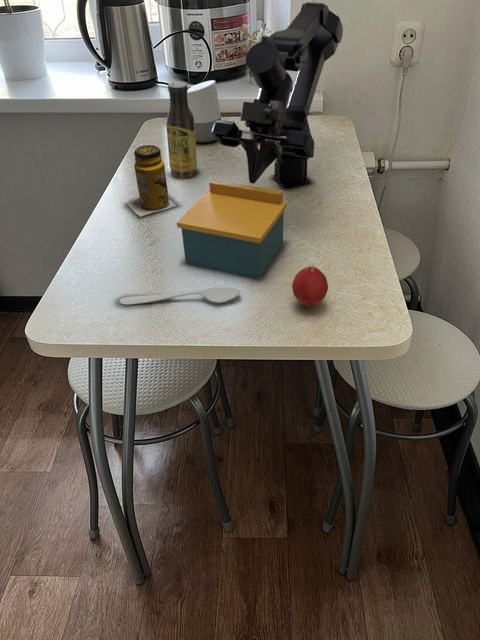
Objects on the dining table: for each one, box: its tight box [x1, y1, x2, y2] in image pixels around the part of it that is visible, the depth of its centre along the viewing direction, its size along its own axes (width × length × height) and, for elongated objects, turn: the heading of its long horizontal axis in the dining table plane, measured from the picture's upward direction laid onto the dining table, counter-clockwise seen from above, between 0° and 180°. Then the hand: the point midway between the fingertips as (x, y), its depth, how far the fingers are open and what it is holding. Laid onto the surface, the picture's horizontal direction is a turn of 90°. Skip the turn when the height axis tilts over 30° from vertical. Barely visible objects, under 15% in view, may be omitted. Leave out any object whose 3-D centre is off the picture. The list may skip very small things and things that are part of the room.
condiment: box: [125, 144, 177, 218], centre depth 120 cm, size 7×8×12 cm
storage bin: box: [180, 211, 285, 280], centre depth 106 cm, size 13×15×8 cm
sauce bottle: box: [165, 80, 198, 179], centre depth 128 cm, size 7×6×20 cm
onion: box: [291, 264, 329, 307], centre depth 94 cm, size 6×6×8 cm
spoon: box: [118, 286, 242, 306], centre depth 98 cm, size 4×21×2 cm, turn 92°
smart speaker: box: [187, 79, 222, 144], centre depth 146 cm, size 10×9×14 cm
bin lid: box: [176, 179, 288, 243], centre depth 103 cm, size 14×16×3 cm
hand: (251, 182), depth 108 cm, fingers closed
